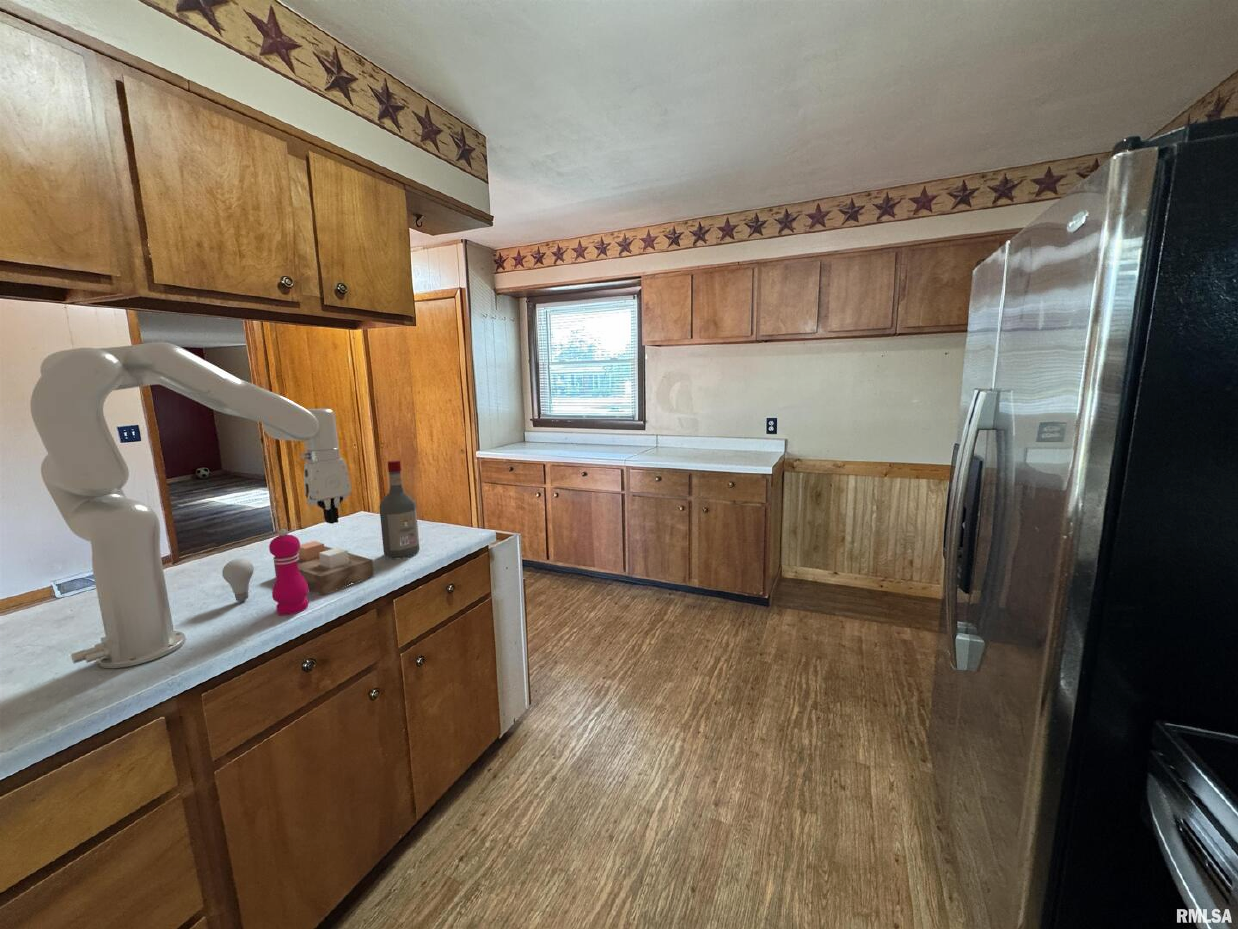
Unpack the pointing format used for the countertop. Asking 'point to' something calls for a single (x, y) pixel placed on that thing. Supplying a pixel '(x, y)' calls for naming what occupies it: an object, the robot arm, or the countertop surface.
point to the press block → (334, 573)
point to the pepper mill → (288, 575)
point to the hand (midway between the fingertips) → (332, 522)
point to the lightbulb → (238, 577)
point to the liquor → (398, 518)
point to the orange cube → (310, 550)
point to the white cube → (334, 558)
